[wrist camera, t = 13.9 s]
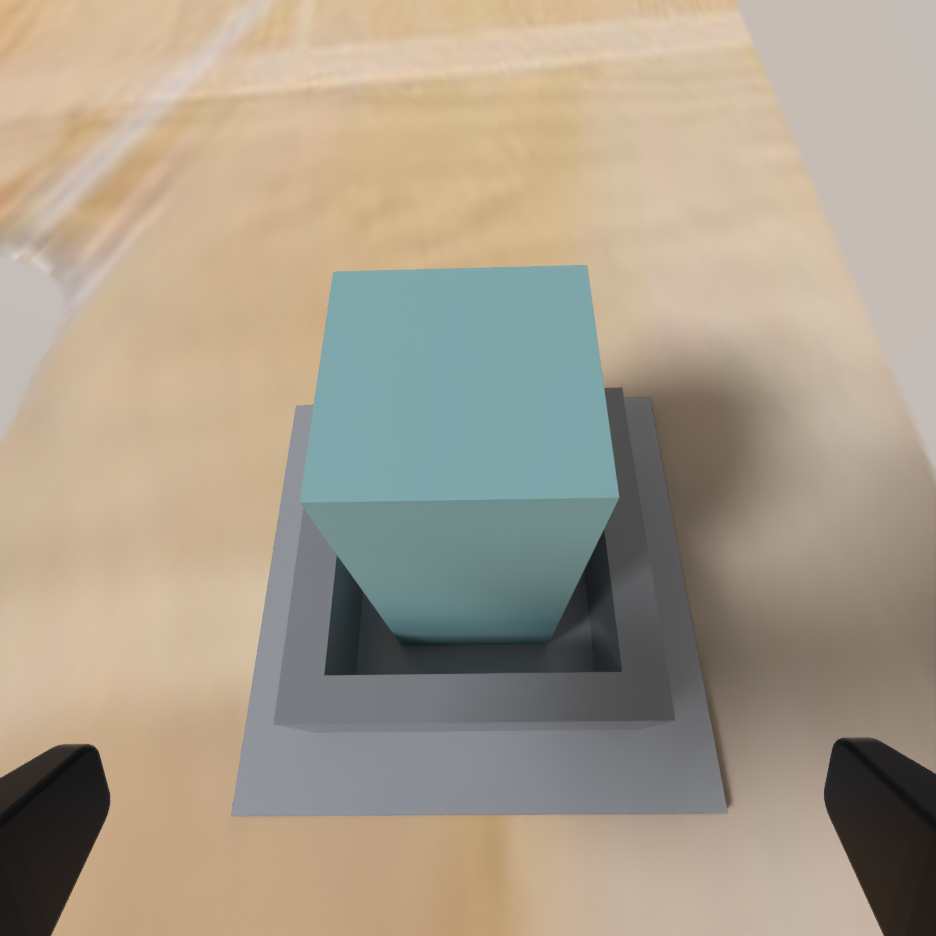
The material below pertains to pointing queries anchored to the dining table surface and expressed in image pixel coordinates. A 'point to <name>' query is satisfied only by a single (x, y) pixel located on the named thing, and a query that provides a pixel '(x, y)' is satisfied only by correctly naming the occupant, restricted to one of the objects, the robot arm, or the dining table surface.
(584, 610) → the well
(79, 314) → the dining table surface
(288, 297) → the dining table surface
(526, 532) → the teal block
